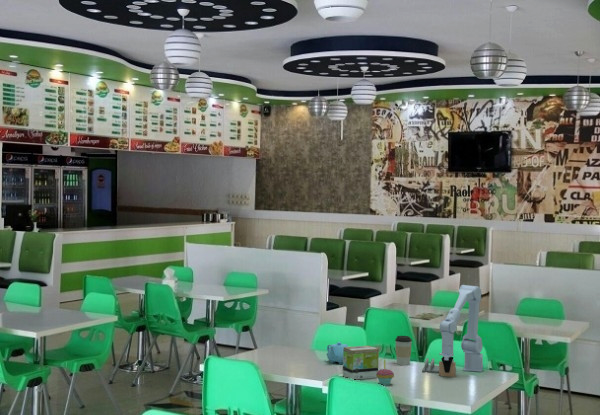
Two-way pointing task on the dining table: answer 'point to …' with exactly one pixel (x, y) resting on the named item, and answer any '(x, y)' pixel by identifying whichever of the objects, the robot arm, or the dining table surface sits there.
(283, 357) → the dining table surface
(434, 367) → the dish rack
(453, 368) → the tall tan block
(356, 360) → the tea box
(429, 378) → the dining table surface
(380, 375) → the cupcake
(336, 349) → the teapot
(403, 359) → the coffee cup
